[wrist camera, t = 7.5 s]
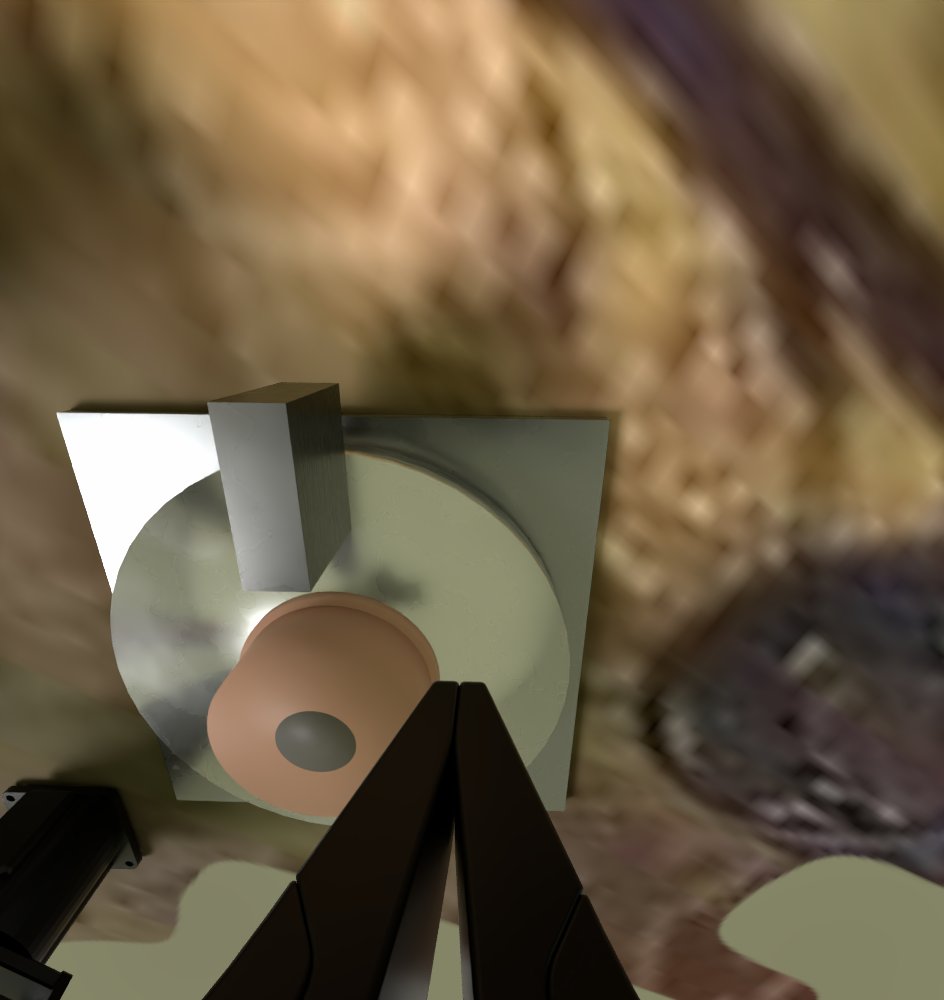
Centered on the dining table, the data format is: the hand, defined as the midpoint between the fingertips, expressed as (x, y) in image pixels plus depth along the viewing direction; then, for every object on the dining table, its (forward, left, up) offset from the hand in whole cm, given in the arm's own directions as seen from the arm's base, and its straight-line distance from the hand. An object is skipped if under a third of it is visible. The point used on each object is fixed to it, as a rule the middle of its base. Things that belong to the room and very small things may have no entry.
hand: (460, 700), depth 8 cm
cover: (-9, +6, -10) cm, 14 cm away
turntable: (-7, +6, -12) cm, 15 cm away
